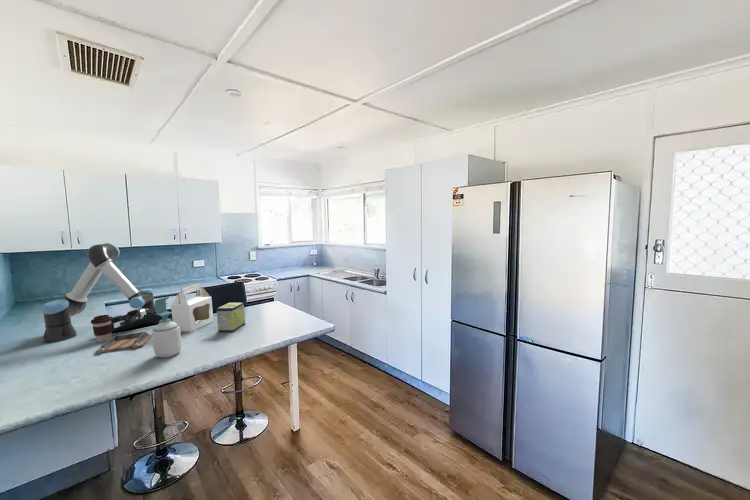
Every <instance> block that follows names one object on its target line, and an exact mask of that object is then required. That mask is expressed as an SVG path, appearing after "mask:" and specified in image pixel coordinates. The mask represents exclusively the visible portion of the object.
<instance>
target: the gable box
mask: <svg viewBox="0 0 750 500" xmlns="http://www.w3.org/2000/svg"><path fill="white" fill-rule="evenodd" d="M193 292H196V293H195V296H193V297H190V298H186V297H185V295H186V294H190V293H193ZM170 308H171V311H170V312H171V313H172V314H171V321H172V322H175V323H177V324H179V325H178V326H179V327H180V332H183V331H184V332H186V333H187V332H188V333H191V332H193V331H195V330H198V329H200V328H202V327H204V326H206V325H208V324H210V323H212V322H214V313H213V311H214V310H213V299H212V296H211V295H210V294H209V293H208V292H207V291H206V289H205V288H204V287H203V286H202V284H200V283H199V282H198V283H194V284H191V285H188V286H184V287H181V289H180V292H179V293H177V295H176V297H175V298H174V300H173V301H172V303H171V304H170ZM197 320H202V321H200V322H199V323H198V324H195V321H197Z"/></svg>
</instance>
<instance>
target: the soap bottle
mask: <svg viewBox="0 0 750 500" xmlns="http://www.w3.org/2000/svg"><path fill="white" fill-rule="evenodd" d="M168 299H170V296H167V297H163V298H158V299H156V300H154V304H155V310H156V314H155V315H157V316H159V317H161V318H162V319H159V323H158V324H157V325H155V326H154V327H153V328H152V331H151V335H152V344H153V345H152V346H153V353H154V354H155V356H156V358H160V359H167V358H171V357H174V356H177V354H179V353H180V352H181V349H182V337H181V331H180V327H179V326H178V325H179V324H177V323H175V322H173V321H172V318H168V317H169V316H170V315H172V311H168V310H167V300H168Z"/></svg>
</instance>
